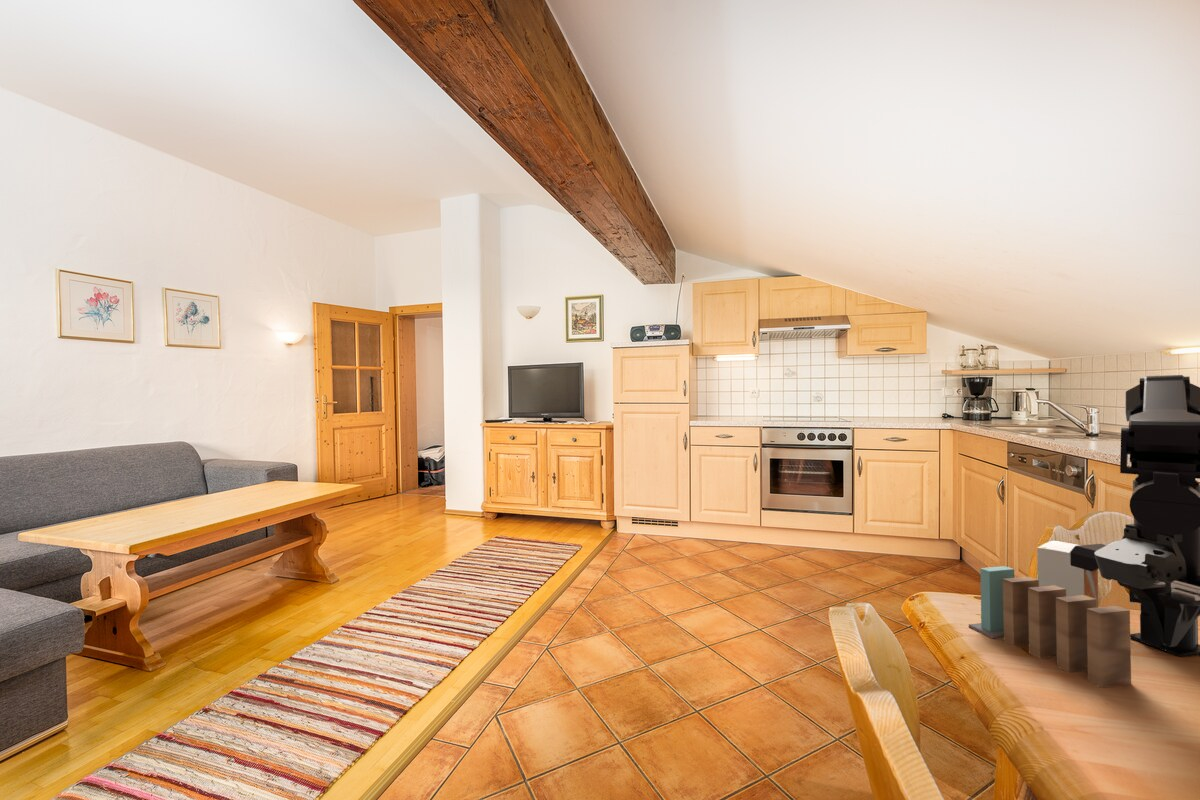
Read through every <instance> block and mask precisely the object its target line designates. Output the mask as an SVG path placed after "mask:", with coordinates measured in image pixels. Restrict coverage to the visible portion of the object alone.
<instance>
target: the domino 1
mask: <svg viewBox="0 0 1200 800" xmlns="http://www.w3.org/2000/svg"><path fill="white" fill-rule="evenodd" d="M979 576H980V614H981V615H980V618H981V619H980V620H981V621H980V623H981V628H984V629H986V630H988V631H990V632H992V631H1001V630H1004V616H1003V579H1006V578H1015V568H1012V567H1008V566H1004V565H1002V566H1001V565H1000V566H990V567H981V568H980V575H979Z"/></svg>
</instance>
